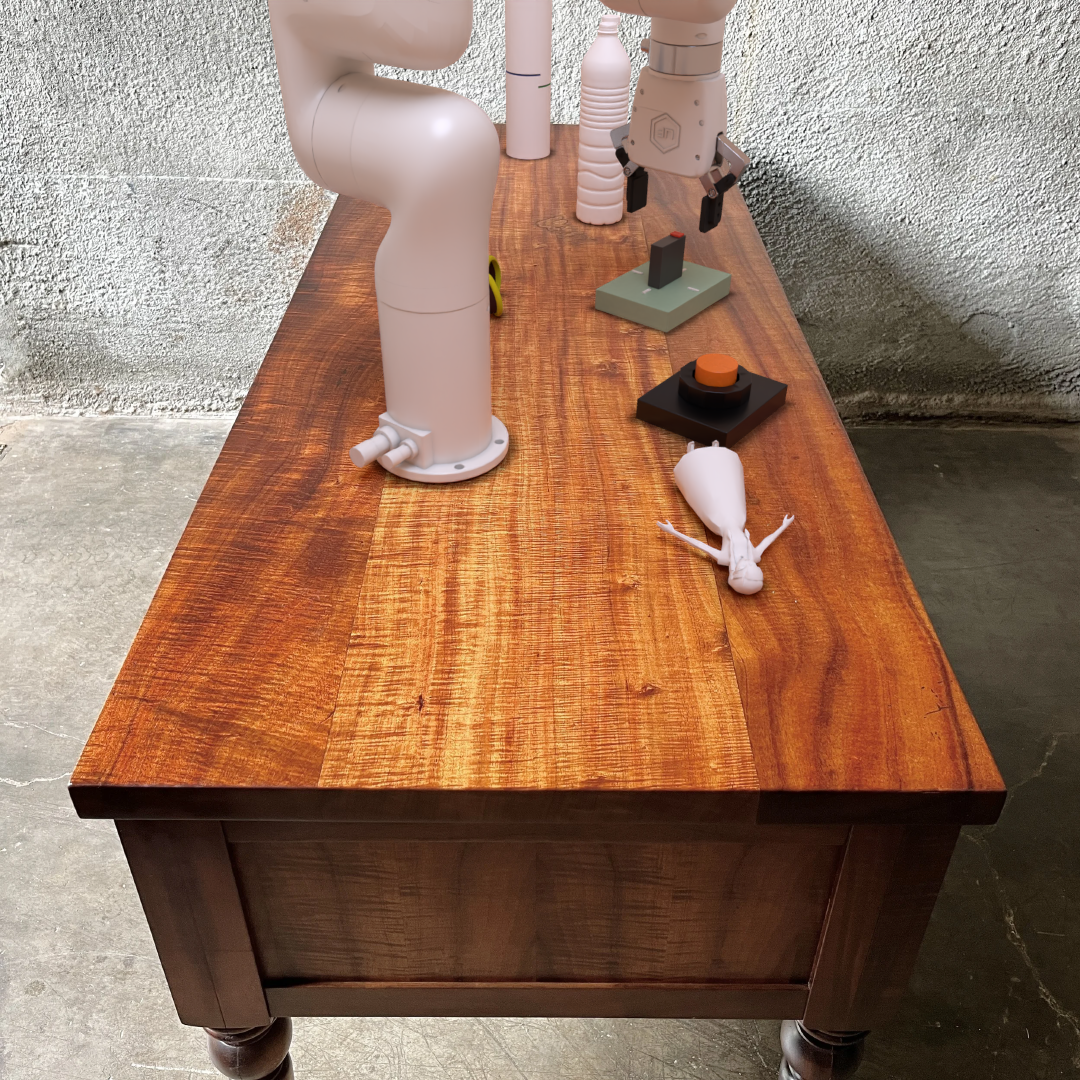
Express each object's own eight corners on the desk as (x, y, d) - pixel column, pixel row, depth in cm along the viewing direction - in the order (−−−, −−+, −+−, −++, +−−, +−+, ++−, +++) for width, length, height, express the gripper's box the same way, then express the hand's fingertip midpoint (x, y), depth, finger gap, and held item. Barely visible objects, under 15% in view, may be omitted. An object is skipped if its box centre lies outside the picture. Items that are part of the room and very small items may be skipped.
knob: (659, 289, 120) (662, 245, 117) (647, 285, 121) (650, 242, 118) (682, 276, 123) (686, 233, 120) (670, 272, 124) (674, 230, 121)
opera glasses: (462, 295, 126) (452, 256, 123) (504, 286, 126) (495, 247, 123) (461, 330, 119) (451, 290, 116) (506, 321, 118) (497, 280, 115)
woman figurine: (770, 427, 91) (831, 564, 78) (761, 468, 94) (820, 606, 81) (639, 432, 90) (679, 572, 77) (635, 473, 93) (673, 614, 80)
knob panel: (666, 333, 117) (668, 311, 115) (594, 309, 122) (595, 287, 120) (729, 293, 126) (732, 272, 124) (660, 272, 131) (661, 252, 129)
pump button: (722, 392, 98) (724, 376, 97) (686, 380, 100) (688, 363, 99) (743, 377, 101) (746, 361, 100) (708, 365, 103) (710, 349, 102)
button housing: (724, 453, 97) (729, 415, 94) (635, 418, 102) (638, 382, 99) (785, 404, 104) (791, 368, 102) (699, 373, 109) (703, 339, 107)
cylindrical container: (501, 148, 172) (499, -22, 157) (542, 144, 173) (544, -24, 158) (513, 160, 166) (512, -14, 151) (555, 157, 168) (558, -16, 153)
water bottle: (620, 227, 143) (632, 28, 128) (573, 224, 144) (579, 26, 129) (625, 205, 150) (636, 15, 135) (580, 203, 151) (587, 13, 136)
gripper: (596, 51, 109) (590, 211, 120) (740, 78, 101) (720, 247, 111) (636, 39, 114) (627, 193, 125) (777, 63, 106) (755, 227, 116)
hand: (671, 219), depth 118 cm, fingers open, 9 cm apart
